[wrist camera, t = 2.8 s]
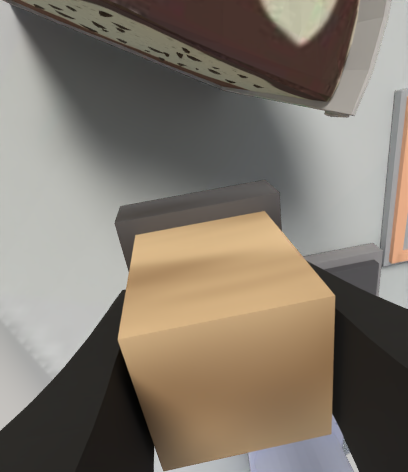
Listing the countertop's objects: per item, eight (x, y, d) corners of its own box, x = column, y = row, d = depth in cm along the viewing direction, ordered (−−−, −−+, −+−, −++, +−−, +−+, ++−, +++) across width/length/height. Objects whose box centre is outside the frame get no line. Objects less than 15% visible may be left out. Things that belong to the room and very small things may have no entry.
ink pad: (363, 351, 24) (375, 367, 22) (242, 377, 23) (248, 395, 22) (372, 243, 20) (388, 254, 19) (228, 270, 20) (233, 284, 18)
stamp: (273, 298, 13) (351, 442, 8) (152, 322, 13) (146, 488, 8) (265, 179, 11) (363, 267, 6) (119, 206, 11) (80, 323, 6)
